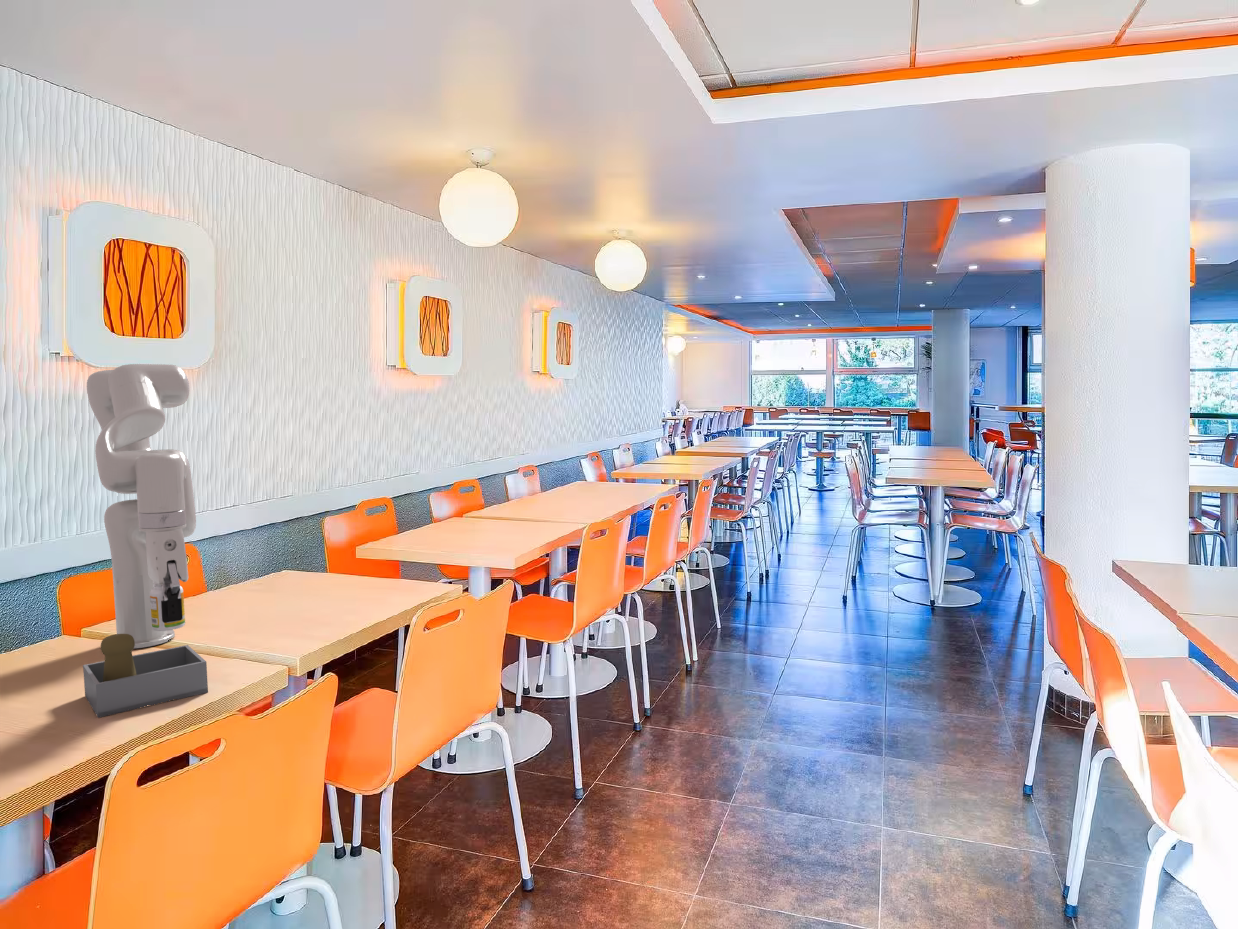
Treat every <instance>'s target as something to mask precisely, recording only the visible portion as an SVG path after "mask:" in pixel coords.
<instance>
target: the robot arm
mask: <svg viewBox="0 0 1238 929" xmlns="http://www.w3.org/2000/svg"><path fill="white" fill-rule="evenodd" d="M86 394H87V398H88V402H89V405H90V407H91V411H92V412H93V414H94V416H95V419H96V420H97V422H98V424H99V426H100V428H101V431H100V433H99V435H98V437H97V440H96V443H95V448H94V449H95V461H96V466H97V473H98V476H99V480H100V483H101V485H102V486H103V487H104V488H105V489H106V490H108V491H110V492H114V493H117V494H121V495H134V494H136V499H135V498H134V499H126V500H121V501H120V500H119V501H118V502H114V503H112V504H111V505H109V507H107V509H106V510H105V512H104V515H103V520H104V521H103V522H104V527H105V531H106V536H107V539H108V545H109V550H110V551H109V552H110V558H111V566H112V569H111V570H112V582H113V583H112V584H113V597H114V611H115V613H114V614H115V627H116V628H115V629H116V634H129V635H132V637H133V638H134V641H135V646H134V649H133V650H135V649H142V648H143V649H145V648H149V647H154V646H157V645H162V644H164V643H167V642H169V641H170V640H169V639H171V638H173V637H174V638H175V634H176V633H175V629H173V630H167V631H156V630H153V629H152V620H151V604H150V591H151V590H152V589H153V588H154V587H155V585H154V583H153V580H154V582H156V583H158V584H159V585H161V589H162V596H163V601H161V609H162V621H163V622H164V623H168V622H173V621H179V620H182V618H183V617H182V600H181V592H180V586H181V583H180V582H183V583H187V582H188V580H189V571H188V570H189V569H188V561H187V560H188V559H187V553H186V542H185V538H187V537H190V536H193V533H194V532H195V531H196V526H197V515H196V506H195V497H194V488H193V486H194V485H193V478H192V473H191V466H190V463H189V459H188V458H187V457H188V456H187V455H186V454H185V453H184V452H183V451H181V450H178V449H172V448H171V449H152V447H151V444H150V437H152V436H154V435H156V434H158V432H160V431H161V430H162V429H163V427H164V426H165V425H164V424H165V423H166V415H165V412H164V409H171V408H176V407H179V406H182V405H183V404H184V405H185V403H186V402H187V401H188V398H189V396H190V382H189V378H188V376H187V374H186V372H185V371H184V370H183V369H182V368H181V366H178V365H175V364H162V363H160V364H159V363H157V364H156V363H155V364H154V363H152V364H149V363H132V364H131V363H129V364H122V365H120V366H118V367H117V366H116V367H115V368H114V369H104V370H103V369H102V370H98V371H95V372H93V373H92V374H90V375H89V376H88V377H87V380H86ZM164 580H170V583H164V582H165V581H164ZM166 587H170V588H168V590H167V591H166ZM174 638H173V639H174ZM168 640H169V641H168ZM171 640H172V639H171Z"/></svg>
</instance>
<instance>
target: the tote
mask: <svg viewBox="0 0 1238 929" xmlns="http://www.w3.org/2000/svg"><path fill="white" fill-rule="evenodd" d="M132 656H133V660H134V665H135V670H136V674H137V675H134V676H130V677H125V678H120V679H115V680H110V681H105V682H103V673H104V662H105V660H102V661H97V662H93V663H88V664H83V665H82V670H83V684H84V697H85V698H86V700H87V702H88V704H89V705H90V707H91V708H92V710H93V712H94V713H95V715H96V717H97V718H98V719H99V718H102V717H103V718H104V717H107V716H111V715H116V714H120V713H125V712H128V711H129V712H130V711H132V710H138V709H141V708H140V707H143V708H145V707H144V706H147V705H151V706H154V704H155V705H159V704H158V703H160V704H162V703H161V702H164V703H167V702H166V701H168V702H170V701H169V700H173V699H177V700H181V699H185V698H189V697H194V696H198V695H202V694H207V693H209V683H208V667H207V665H208V664H207V661H206V660H205V659H204V658H203V657H202V656H201V655H200V654H199V653H198V652H197V651H195V650H194V649H193V648H192V647H191V646H189V645H188V644H186V645H181V646H176V647H170V648H165V649H160V650H159V649H158V650H154V651H150V652H145V653H138V654H134V655H133V654H132ZM173 701H174V700H173ZM147 707H148V706H147ZM137 708H138V709H137Z"/></svg>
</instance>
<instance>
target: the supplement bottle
mask: <svg viewBox="0 0 1238 929" xmlns="http://www.w3.org/2000/svg"><path fill="white" fill-rule="evenodd" d="M164 581H165V582H164V583H170V580H164ZM153 583H154V585H155V587H154V588H153V589H152V590H151V591H150V604H151V620H152V629H153V630H156V631H167V630H177V629H180V628H183V627H185V625H186V615H185V614H186V612H185V598H184V589H183V587H182V586H181V585H180V592H181V600H182V617H183V618H182V620H179V621H173V622H168V623H164V622H163V621H162V609H161V601H163V596H162V589H161V585H159V584H158V583H156V582H154V580H153ZM168 588H170V587H166V591H167V590H168Z"/></svg>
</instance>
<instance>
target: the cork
mask: <svg viewBox="0 0 1238 929" xmlns="http://www.w3.org/2000/svg"><path fill="white" fill-rule="evenodd" d="M134 646H135V641H134V638H133V637H132V635H129V634H117V633H114V634H111V635H108V636H106V637H104V638H103V639H102V640H101V642H100V650H101V654H102V655H103V656H104V661H105V662H104V673H103V682H105V681H110V680H115V679H120V678H125V677H130V676H134V675H137V674H136V670H135V665H134V660H133V650H135V649H134Z"/></svg>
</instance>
